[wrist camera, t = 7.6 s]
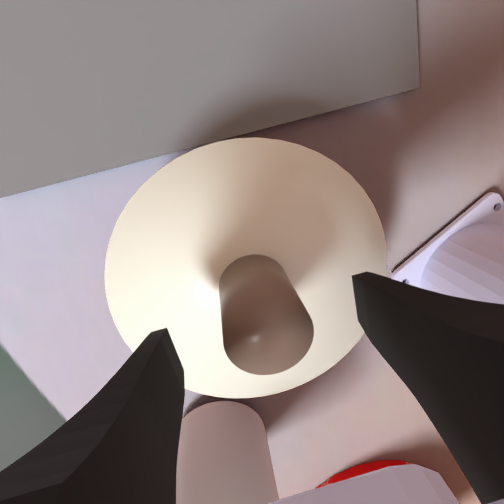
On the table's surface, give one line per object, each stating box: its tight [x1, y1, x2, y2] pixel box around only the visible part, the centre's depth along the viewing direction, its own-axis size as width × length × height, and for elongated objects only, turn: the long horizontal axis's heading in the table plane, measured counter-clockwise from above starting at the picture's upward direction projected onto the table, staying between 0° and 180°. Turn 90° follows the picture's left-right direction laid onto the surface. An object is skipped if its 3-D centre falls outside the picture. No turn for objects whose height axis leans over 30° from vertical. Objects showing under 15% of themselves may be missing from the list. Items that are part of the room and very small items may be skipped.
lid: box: [104, 137, 387, 398], centre depth 14 cm, size 13×13×5 cm
